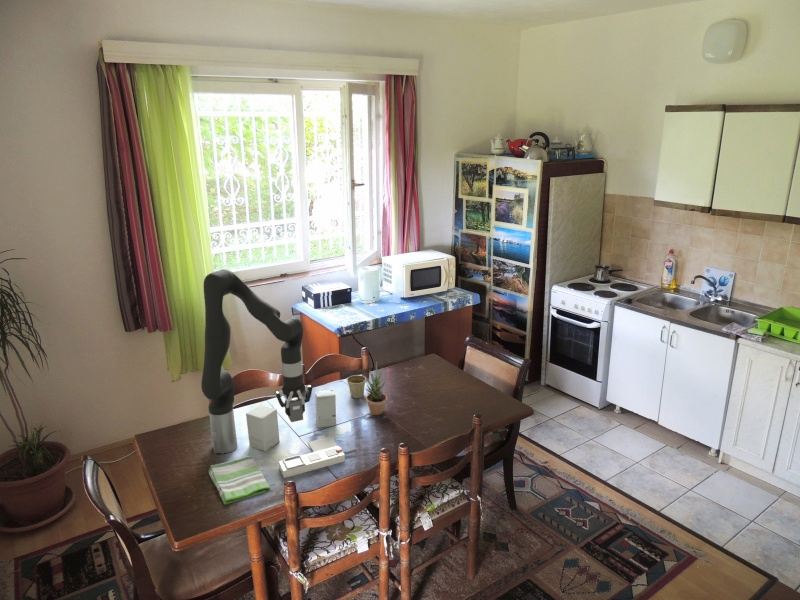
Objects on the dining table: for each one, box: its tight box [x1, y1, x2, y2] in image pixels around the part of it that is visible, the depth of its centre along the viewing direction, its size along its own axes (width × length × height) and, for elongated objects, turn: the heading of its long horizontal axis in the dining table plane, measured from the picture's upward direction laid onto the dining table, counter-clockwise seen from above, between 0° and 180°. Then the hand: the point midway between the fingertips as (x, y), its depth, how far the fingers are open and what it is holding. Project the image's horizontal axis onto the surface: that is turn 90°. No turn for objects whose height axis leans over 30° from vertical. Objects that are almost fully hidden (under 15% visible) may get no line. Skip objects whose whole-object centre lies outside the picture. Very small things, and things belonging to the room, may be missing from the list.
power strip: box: [278, 445, 357, 479], centre depth 218 cm, size 30×7×4 cm, turn 116°
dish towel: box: [207, 455, 271, 505], centre depth 208 cm, size 17×23×4 cm
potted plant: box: [364, 361, 388, 416], centre depth 253 cm, size 10×10×25 cm
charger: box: [288, 397, 304, 423], centre depth 209 cm, size 4×5×8 cm
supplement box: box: [245, 404, 281, 452], centre depth 230 cm, size 9×9×15 cm
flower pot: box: [346, 374, 367, 399], centre depth 271 cm, size 9×9×9 cm
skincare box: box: [314, 389, 337, 429], centre depth 245 cm, size 8×6×15 cm
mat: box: [307, 436, 339, 453], centre depth 229 cm, size 10×10×1 cm
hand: (295, 413), depth 210 cm, fingers closed on charger, 4 cm apart
